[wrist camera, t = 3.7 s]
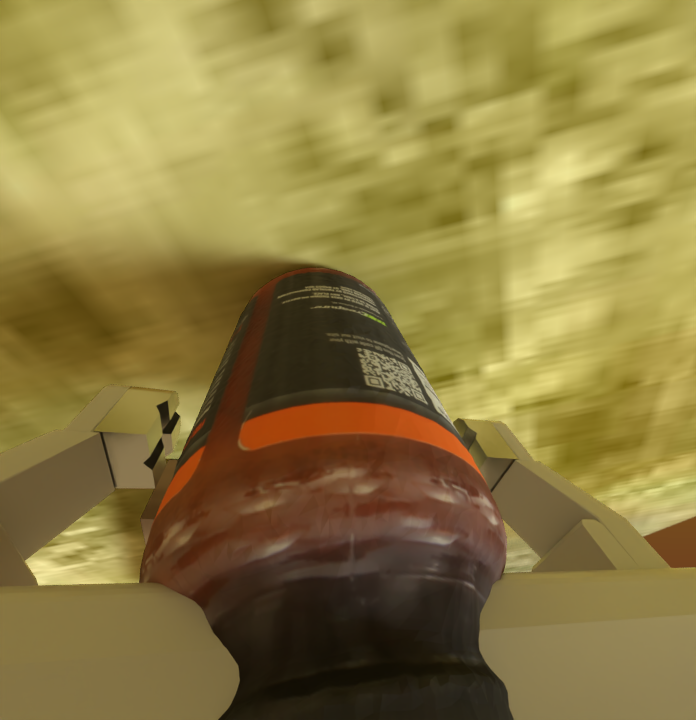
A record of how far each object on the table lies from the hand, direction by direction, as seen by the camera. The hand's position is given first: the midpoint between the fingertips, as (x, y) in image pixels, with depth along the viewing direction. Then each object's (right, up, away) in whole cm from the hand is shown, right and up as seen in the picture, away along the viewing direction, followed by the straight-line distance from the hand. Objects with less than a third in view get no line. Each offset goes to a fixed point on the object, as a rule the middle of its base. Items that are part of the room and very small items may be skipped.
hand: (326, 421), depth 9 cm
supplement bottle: (-1, +3, +3) cm, 4 cm away
